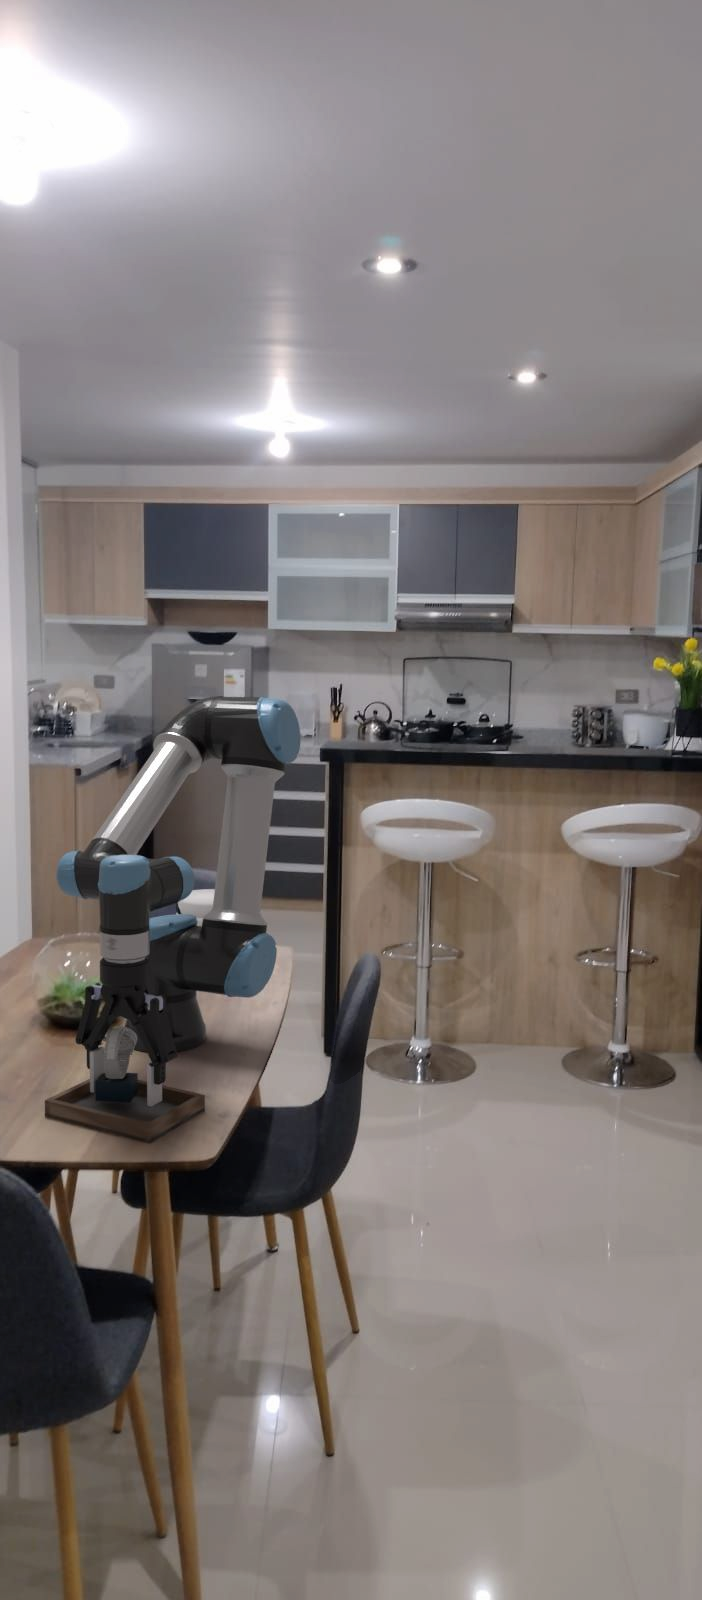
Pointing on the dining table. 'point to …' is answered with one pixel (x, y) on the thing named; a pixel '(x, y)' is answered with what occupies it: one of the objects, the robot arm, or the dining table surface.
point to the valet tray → (126, 1111)
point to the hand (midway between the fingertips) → (125, 1096)
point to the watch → (117, 1067)
